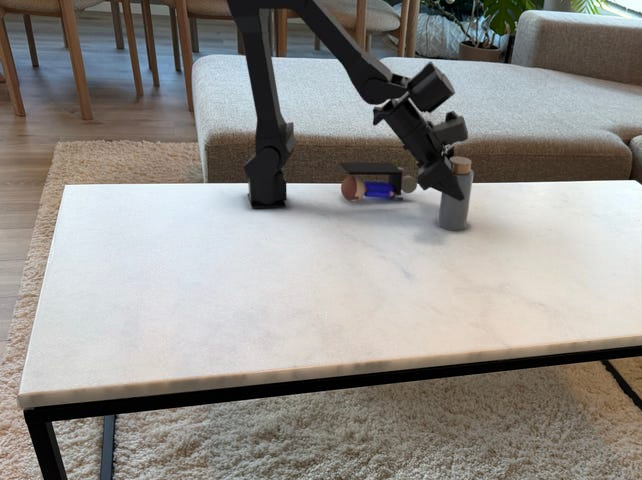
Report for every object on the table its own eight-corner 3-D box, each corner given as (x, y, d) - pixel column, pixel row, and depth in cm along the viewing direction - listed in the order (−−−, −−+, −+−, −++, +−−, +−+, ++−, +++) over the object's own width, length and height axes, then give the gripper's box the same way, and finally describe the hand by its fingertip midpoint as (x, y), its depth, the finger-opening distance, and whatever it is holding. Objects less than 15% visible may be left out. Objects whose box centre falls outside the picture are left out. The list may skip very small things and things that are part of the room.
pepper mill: (451, 232, 133) (460, 167, 126) (432, 221, 136) (439, 157, 129) (471, 227, 136) (481, 163, 129) (452, 216, 140) (460, 153, 132)
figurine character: (401, 196, 149) (334, 193, 142) (407, 162, 145) (339, 157, 138) (413, 208, 144) (345, 206, 137) (420, 173, 140) (350, 169, 133)
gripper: (444, 115, 115) (498, 187, 122) (447, 87, 131) (496, 152, 137) (393, 155, 119) (448, 222, 126) (403, 124, 135) (452, 185, 141)
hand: (463, 193), depth 133 cm, fingers closed on pepper mill, 5 cm apart
